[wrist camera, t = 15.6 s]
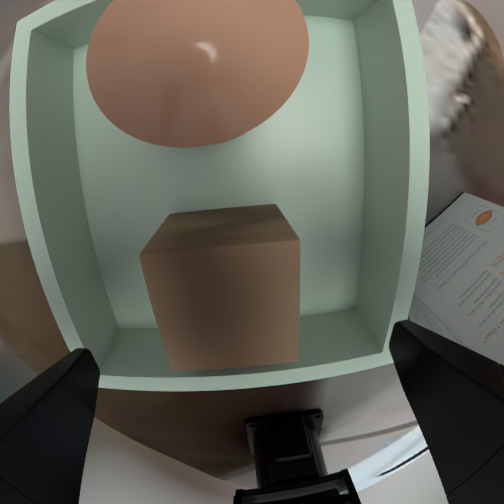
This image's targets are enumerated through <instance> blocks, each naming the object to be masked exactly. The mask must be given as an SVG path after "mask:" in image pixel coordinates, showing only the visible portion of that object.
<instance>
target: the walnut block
mask: <svg viewBox="0 0 504 504" xmlns="http://www.w3.org/2000/svg"><path fill="white" fill-rule="evenodd" d="M139 257H140V262H141V266H142V270H143V275H144V279H145V283H146V287H147V291H148V294H149V298H150V302H151V306H152V309H153V313H154V316H155V320H156V323H157V327H158V330H159V333H160V336H161V340H162V343H163V346H164V349H165V352H166V355H167V358H168V361H169V364H170V367H171V370H172V371H180V370H208V369H225V368H239V367H250V366H260V365H270V364H278V363H286V362H294V361H298V352H299V321H300V239H299V237H298V236H297V234H296V233H295V231H294V230H293V228H292V227H291V225H290V224H289V222H288V221H287V220H286V218H285V217H284V215H283V214H282V212H281V211H280V209H279V208H278V206H277V205H276V204H267V205H254V206H242V207H231V208H220V209H210V210H200V211H191V212H181V213H173V214H169V215H168V217H167V218H166V219H165V221H164V222H163V223H162V224H161V226H160V227H159V228H158V230H157V231H156V232H155V234H154V235H153V236H152V238H151V239H150V240H149V242H148V243H147V244H146V246H145V247H144V248H143V250H142V251H141V252H140V254H139Z"/></svg>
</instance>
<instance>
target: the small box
mask: <svg viewBox="0 0 504 504" xmlns="http://www.w3.org/2000/svg"><path fill="white" fill-rule="evenodd" d="M408 316H409V318H410V320H411V321H412V322H414V323H416V324H418V325H420V326H422V327H424V328H427V329H429V330H431V331H433V332H435V333H437V334H439V335H441V336H443V337H446V338H448V339H450V340H452V341H454V342H456V343H458V344H460V345H462V346H465V347H467V348H469V349H471V350H473V351H475V352H477V353H479V354H481V355H483V356H485V357H488V358H490V359H492V360H494V361H496V362H498V363H499V364H502V365H504V207H502V206H499V205H497V204H494V203H492V202H489V201H487V200H484V199H481V198H479V197H476V196H474V195H471V194H468V193H463V194H462V195H461V196H460V197H459V198H458V199H457V200H456V201H455V202H454V203H452V204H451V205H450V206H449V207H448V208H447V209H446V210H445V211H444V212H443V213H442V214H440V215H439V216H438V217H437V218H436V219H435V220H434V221H433V222H431V223H430V224H429V225H428V226H427V227H426V228H425V229H424V237H423V244H422V251H421V257H420V263H419V268H418V274H417V279H416V284H415V289H414V293H413V298H412V302H411V307H410V311H409V315H408Z"/></svg>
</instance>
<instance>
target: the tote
mask: <svg viewBox="0 0 504 504" xmlns="http://www.w3.org/2000/svg"><path fill="white" fill-rule="evenodd" d="M112 1H113V0H56V1H54V2H52V3H50V4H48V5H46V6H44V7H42V8H40V9H39V10H37V11H35V12H33V13H31V14H30V15H28V16H26V17H25V18H23V19H21V20H20V21H18V22H17V26H16V32H15V38H14V45H13V53H12V63H11V76H10V135H11V148H12V159H13V167H14V175H15V182H16V188H17V194H18V199H19V204H20V209H21V214H22V219H23V223H24V227H25V231H26V235H27V239H28V243H29V246H30V250H31V253H32V257H33V260H34V263H35V266H36V269H37V273H38V276H39V278H40V281H41V284H42V287H43V290H44V292H45V295H46V298H47V300H48V303H49V305H50V308H51V310H52V313H53V315H54V317H55V320H56V322H57V324H58V327H59V329H60V331H61V333H62V335H63V338H64V340H65V342H66V344H67V346H68V348H69V350H70V352H72V351H73V350H75V349H76V348H87V349H89V350H90V351H91V352H92V355H93V357H94V359H95V361H96V363H97V365H98V367H99V369H100V379H99V386H98V387H100V388H111V389H124V390H143V391H210V390H229V389H243V388H255V387H265V386H274V385H282V384H290V383H297V382H304V381H310V380H316V379H322V378H328V377H333V376H338V375H343V374H348V373H353V372H357V371H362V370H366V369H371V368H375V367H379V366H383V365H387V364H390V363H394V362H393V359H392V356H391V353H390V350H389V341H390V337H391V333H392V329H393V326H394V324H395V322H397V321H401V320H407V319H408V315H409V311H410V307H411V302H412V298H413V293H414V289H415V284H416V279H417V274H418V268H419V263H420V257H421V251H422V244H423V237H424V229H425V221H426V211H427V200H428V186H429V161H430V131H429V108H428V94H427V83H426V74H425V66H424V59H423V53H422V47H421V41H420V36H419V31H418V26H417V22H416V17H415V13H414V9H413V5H412V2H411V0H296V2H297V4H298V5H299V7H300V9H301V11H302V13H303V16H304V18H305V21H306V24H307V29H308V34H309V52H308V60H307V63H306V67H305V70H304V73H303V75H302V77H301V80H300V82H299V84H298V86H297V87H296V89H295V90H294V92H293V93H292V95H291V96H290V98H289V99H288V100H287V101H286V102H285V103H284V105H283V106H282V107H281V108H280V109H279V110H278V111H276V112H275V113H274V114H273V115H272V116H271V117H270V118H268V119H267V120H266V121H264V122H263V123H261V124H260V125H259V126H257V127H255V128H253V129H252V130H250V131H248V132H246V133H245V134H243V135H241V136H239V137H237V138H235V139H233V140H230V141H227V142H223V143H218V144H212V145H206V146H200V147H187V148H178V147H166V146H160V145H154V144H151V143H148V142H145V141H141V140H139V139H137V138H134V137H132V136H130V135H128V134H126V133H125V132H123V131H122V130H120V129H119V128H117V127H116V126H115V125H114V124H113V123H112V122H110V121H109V120H108V119H107V118H106V116H105V115H104V114H103V113H102V112H101V110H100V109H99V107H98V106H97V104H96V102H95V101H94V99H93V96H92V94H91V91H90V89H89V85H88V80H87V74H86V57H87V50H88V46H89V41H90V38H91V35H92V33H93V30H94V28H95V26H96V24H97V22H98V20H99V19H100V17H101V15H102V14H103V12H104V11H105V10H106V8H107V7H108V6H109V4H110V3H111V2H112ZM267 204H276V205H277V206H278V208H279V209H280V211H281V212H282V214H283V215H284V217H285V218H286V220H287V221H288V222H289V224H290V225H291V227H292V228H293V230H294V231H295V233H296V234H297V236H298V237H299V239H300V321H299V352H298V361H294V362H286V363H278V364H270V365H260V366H250V367H239V368H225V369H208V370H180V371H172V370H171V367H170V364H169V361H168V358H167V355H166V352H165V349H164V346H163V343H162V340H161V336H160V333H159V330H158V327H157V323H156V320H155V316H154V313H153V309H152V306H151V302H150V298H149V294H148V291H147V287H146V283H145V279H144V275H143V270H142V266H141V262H140V257H139V254H140V252H141V251H142V250H143V248H144V247H145V246H146V244H147V243H148V242H149V240H150V239H151V238H152V236H153V235H154V234H155V232H156V231H157V230H158V228H159V227H160V226H161V224H162V223H163V222H164V221H165V219H166V218H167V217H168V215H169V214H173V213H181V212H191V211H200V210H210V209H220V208H231V207H242V206H254V205H267Z"/></svg>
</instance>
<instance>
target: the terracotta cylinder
mask: <svg viewBox="0 0 504 504" xmlns="http://www.w3.org/2000/svg"><path fill="white" fill-rule="evenodd" d="M308 52H309V34H308V29H307V24H306V21H305V18H304V16H303V13H302V11H301V9H300V7H299V5H298V4H297V2H296V0H113V1H112V2H111V3H110V4H109V6H108V7H107V8H106V10H105V11H104V12H103V14H102V15H101V17H100V19H99V20H98V22H97V24H96V26H95V28H94V30H93V33H92V35H91V38H90V41H89V46H88V50H87V57H86V74H87V80H88V85H89V89H90V91H91V94H92V96H93V99H94V101H95V102H96V104H97V106H98V107H99V109H100V110H101V112H102V113H103V114H104V115H105V116H106V118H107V119H108V120H109V121H110V122H112V123H113V124H114V125H115V126H116V127H117V128H119V129H120V130H122V131H123V132H125V133H126V134H128V135H130V136H132V137H134V138H137V139H139V140H141V141H145V142H148V143H151V144H154V145H160V146H166V147H178V148H187V147H200V146H206V145H212V144H218V143H223V142H227V141H230V140H233V139H235V138H237V137H239V136H241V135H243V134H245V133H246V132H248V131H250V130H252V129H253V128H255V127H257V126H259V125H260V124H261V123H263V122H264V121H266V120H267V119H268V118H270V117H271V116H272V115H273V114H274V113H275V112H276V111H278V110H279V109H280V108H281V107H282V106H283V105H284V103H285V102H286V101H287V100H288V99H289V98H290V96H291V95H292V93H293V92H294V90H295V89H296V87H297V86H298V84H299V82H300V80H301V77H302V75H303V73H304V70H305V67H306V63H307V60H308Z"/></svg>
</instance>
